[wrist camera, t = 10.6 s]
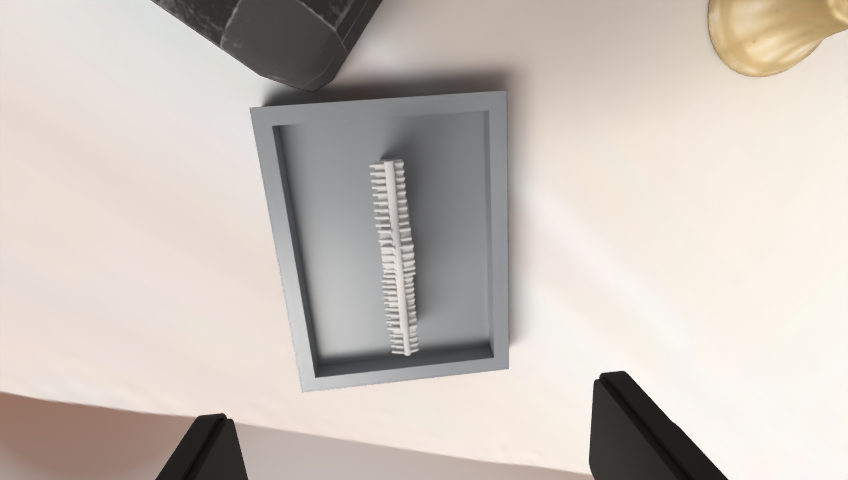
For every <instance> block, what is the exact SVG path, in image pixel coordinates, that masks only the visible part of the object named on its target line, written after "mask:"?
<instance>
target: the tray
mask: <svg viewBox="0 0 848 480" xmlns="http://www.w3.org/2000/svg"><path fill="white" fill-rule="evenodd" d="M250 113H251V119H252V124H253V129H254V135H255V140H256V146H257V151H258V156H259V162H260V167H261V173H262V178H263V184H264V189H265V194H266V200H267V205H268V211H269V216H270V221H271V227H272V232H273V238H274V243H275V249H276V254H277V259H278V265H279V270H280V276H281V281H282V286H283V292H284V297H285V303H286V308H287V314H288V319H289V324H290V330H291V335H292V341H293V346H294V351H295V357H296V362H297V368H298V373H299V379H300V384H301V389H302V393H303V392H312V391H321V390H329V389H338V388H347V387H355V386H364V385H373V384H382V383H390V382H399V381H408V380H416V379H425V378H434V377H443V376H451V375H460V374H469V373H478V372H486V371H495V370H504V369H509V321H508V207H507V92H506V90H502V91H488V92H473V93H458V94H444V95H429V96H414V97H400V98H385V99H370V100H356V101H341V102H326V103H312V104H297V105H282V106H268V107H253V108H250ZM391 158H398V159H402V161H403V162H404V165H403V169H404V173H403V176H404V177H405V180H404V183H405V187H404V190H406V194H405V197H407V201H408V208H409V216H410V226H411V236H412V244H414V247H413V252H414V259H415V263H414V266H415V269H414V271H415V274H414V275H412V276H413V279H412V282H414V285H413V287H414V290H413V292H414V294H415V295H414V298H415V301H414V304H415V310H416V313H415V315H416V318H417V320H416V323H417V328H416V329H417V337H418V339H417V341H418V345H417V347H418V348H419V350H418V351H416V352H412V353H411V355H409V356H406V355H405V354H399V353H392V350H396V347H391V345H392V344H394V341H391V338H393V339H394V336H390V333H393V330H387V326H389V323H386V320H388V318H389V317H391V316H386V313H388V312H390V310H385V307H390V306H389V304H385V303H384V301H389V298H384V295H388V293H383V289H387V290H388V288H383V287H382V285H383V284H387V282H382V279H386V277H383V274H384V271H383V265H382V257H381V255H382V254H381V249H380V247H381V244H380V242H379V241H378V240H379V239H380V234H379V233H378V229H379V227H376V223H379V222H378V219H375V216H378V212H375V211H374V209H375V208H378V206H377V204H374V203H373V202H374V201H377V200H378V196H373V193H378V191H377V189H372V186H377V182H371V179H376V175H370V172H375V167H369V164H375V163H374V161H379V160H380V159H391ZM391 327H392V326H391Z"/></svg>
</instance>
